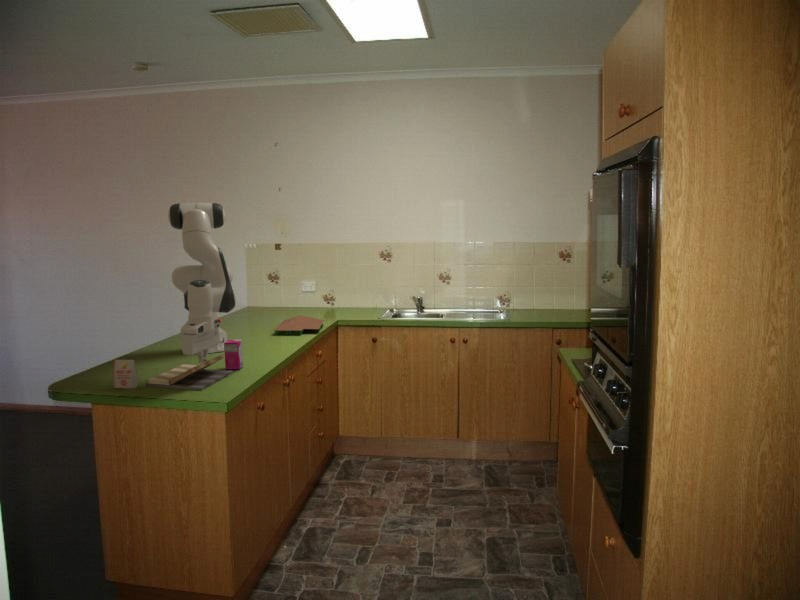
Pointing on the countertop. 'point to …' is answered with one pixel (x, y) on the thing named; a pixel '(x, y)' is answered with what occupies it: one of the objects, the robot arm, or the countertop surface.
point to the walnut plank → (196, 369)
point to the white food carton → (125, 374)
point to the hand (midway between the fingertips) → (202, 361)
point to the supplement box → (233, 354)
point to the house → (299, 324)
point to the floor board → (188, 378)
